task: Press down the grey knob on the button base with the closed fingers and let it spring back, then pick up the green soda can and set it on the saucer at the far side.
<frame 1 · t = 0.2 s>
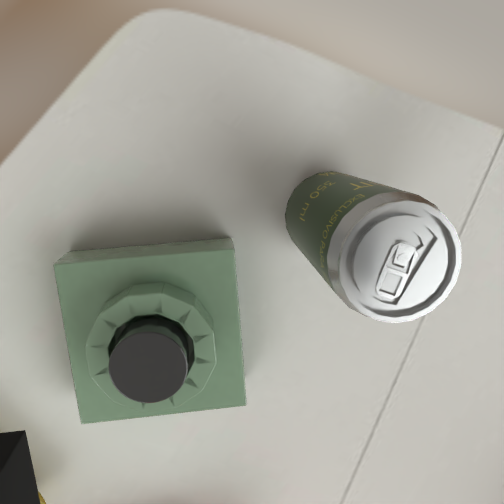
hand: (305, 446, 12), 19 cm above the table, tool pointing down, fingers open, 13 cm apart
green soda can: (324, 213, 30), on the table
button base: (159, 319, 31), on the table
grey knob: (150, 359, 25), point 6 cm above the table, slide at 0.1 cm
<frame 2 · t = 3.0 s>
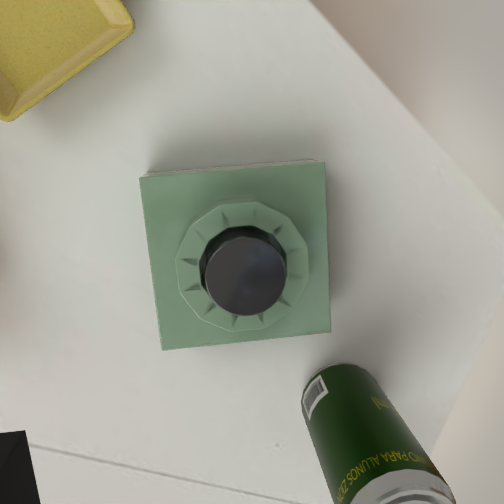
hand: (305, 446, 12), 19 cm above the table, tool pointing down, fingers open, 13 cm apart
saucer: (30, 11, 26), on the table
green soda can: (336, 393, 33), on the table
button base: (237, 247, 30), on the table
grey knob: (244, 272, 24), point 6 cm above the table, slide at 0.1 cm
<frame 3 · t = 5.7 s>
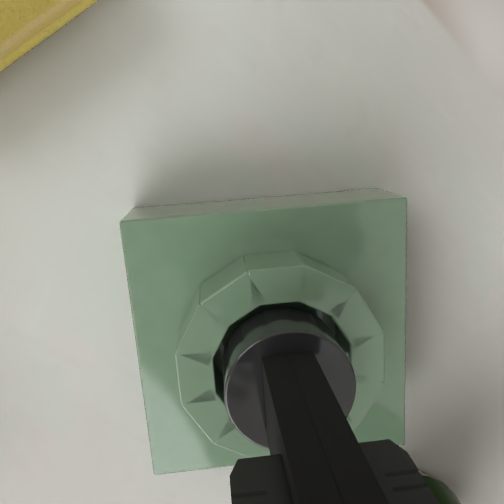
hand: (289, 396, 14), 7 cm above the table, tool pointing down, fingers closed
button base: (265, 313, 21), on the table
grey knob: (285, 376, 15), point 6 cm above the table, slide at 0.0 cm, touching gripper
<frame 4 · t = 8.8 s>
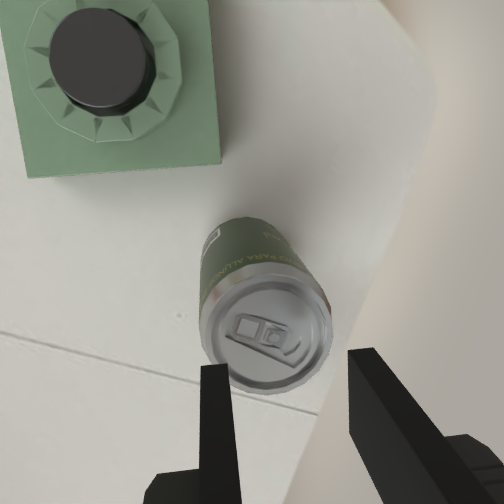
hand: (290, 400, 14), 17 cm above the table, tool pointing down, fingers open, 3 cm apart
green soda can: (244, 256, 30), on the table
button base: (122, 76, 27), on the table
grey knob: (101, 62, 21), point 6 cm above the table, slide at 0.1 cm
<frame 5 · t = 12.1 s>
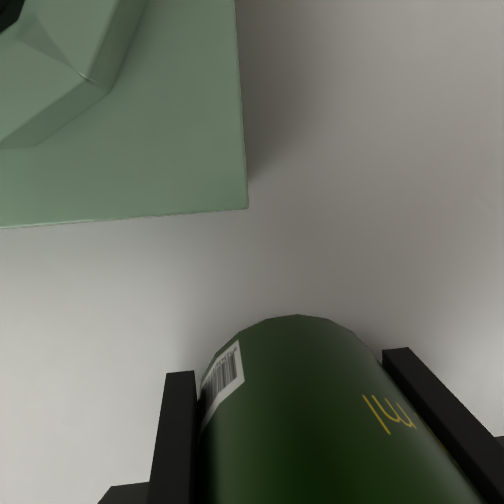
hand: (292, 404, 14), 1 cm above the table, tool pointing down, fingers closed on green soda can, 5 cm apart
green soda can: (286, 386, 15), on the table, touching gripper
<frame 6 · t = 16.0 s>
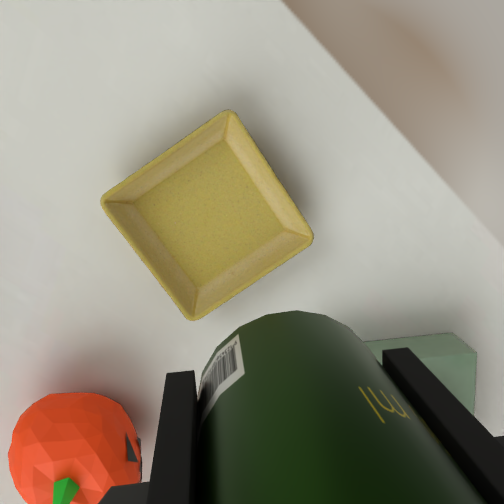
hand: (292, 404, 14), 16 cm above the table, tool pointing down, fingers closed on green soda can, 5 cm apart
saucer: (209, 213, 28), on the table
green soda can: (284, 381, 15), point 14 cm above the table, touching gripper
button base: (377, 408, 32), on the table
pumpkin: (86, 427, 31), on the table
when the fingers open (3 cm above the table, at t = 19.9 s): green soda can stays where it is, resting on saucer.
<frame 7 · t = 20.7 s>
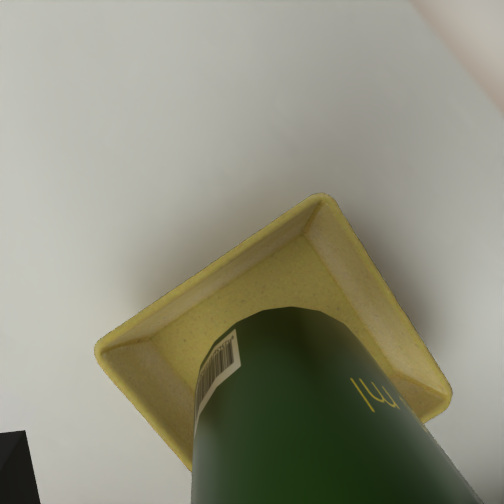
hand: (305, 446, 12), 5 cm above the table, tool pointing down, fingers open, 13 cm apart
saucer: (272, 346, 17), on the table, touching green soda can
green soda can: (280, 375, 15), point 2 cm above the table, touching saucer
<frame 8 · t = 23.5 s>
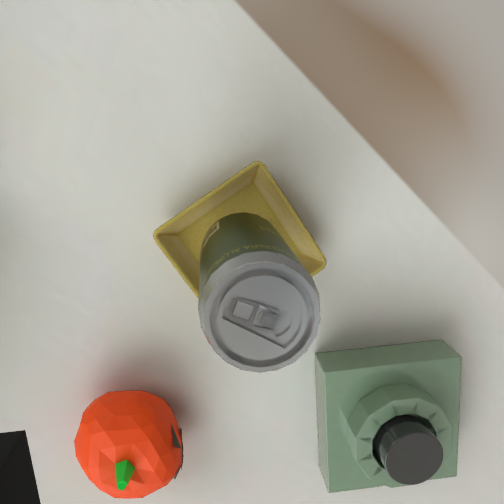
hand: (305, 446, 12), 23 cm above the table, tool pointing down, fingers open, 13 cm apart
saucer: (239, 242, 34), on the table, touching green soda can
green soda can: (241, 250, 32), point 2 cm above the table, touching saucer
button base: (379, 404, 38), on the table
pumpkin: (134, 419, 36), on the table
grey knob: (408, 449, 33), point 6 cm above the table, slide at 0.1 cm
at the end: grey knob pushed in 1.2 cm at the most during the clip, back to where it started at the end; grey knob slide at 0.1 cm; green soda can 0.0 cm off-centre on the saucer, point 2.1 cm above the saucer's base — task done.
